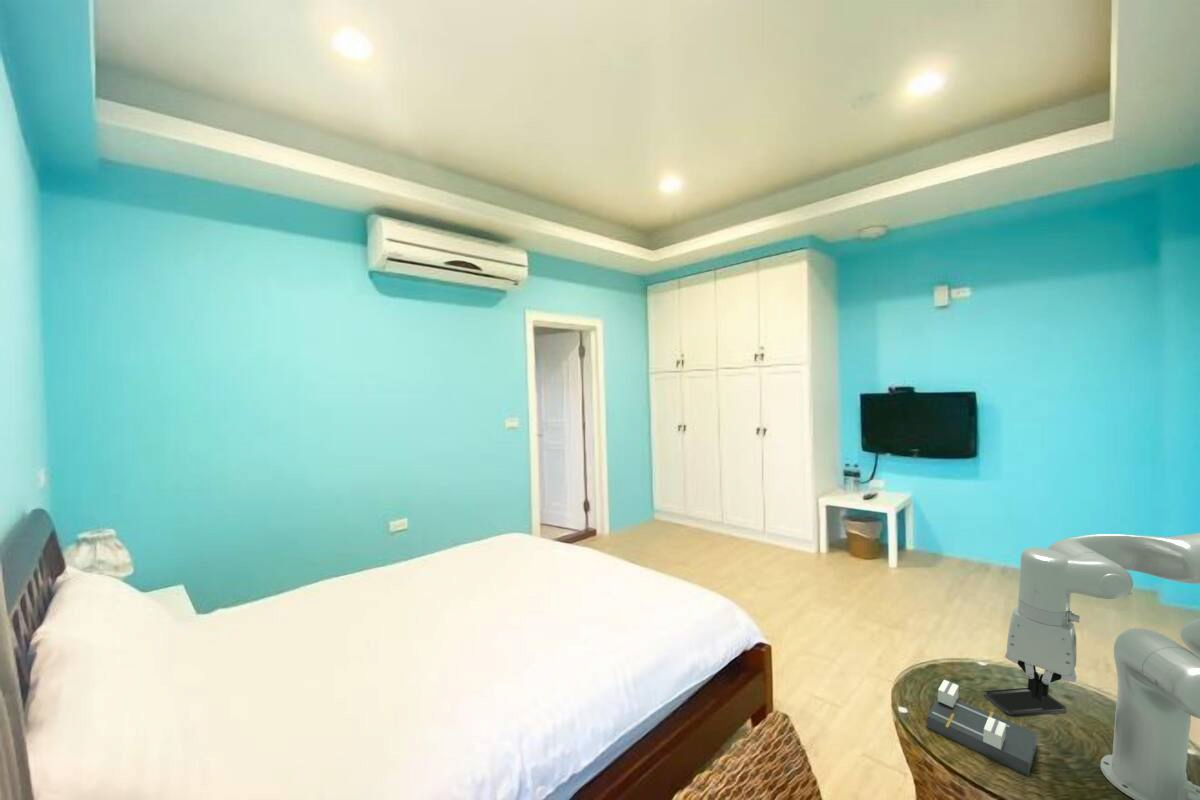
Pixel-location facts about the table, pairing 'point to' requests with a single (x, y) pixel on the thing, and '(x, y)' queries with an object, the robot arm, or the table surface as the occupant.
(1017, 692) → the phone
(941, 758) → the table surface
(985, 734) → the fader near
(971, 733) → the console
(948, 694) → the block
